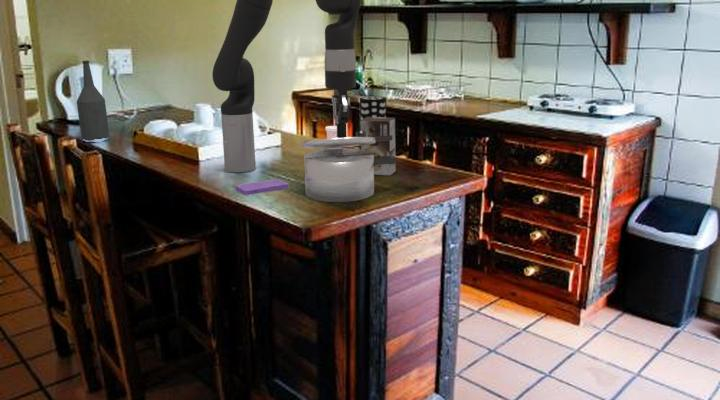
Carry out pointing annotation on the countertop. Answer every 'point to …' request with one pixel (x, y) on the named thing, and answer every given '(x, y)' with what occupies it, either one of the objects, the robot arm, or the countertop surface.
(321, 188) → the pot
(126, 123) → the countertop surface
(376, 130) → the coffee box
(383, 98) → the white-spotted black cylinder
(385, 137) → the lid
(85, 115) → the bottle
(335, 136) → the beverage cup
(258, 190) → the sponges
